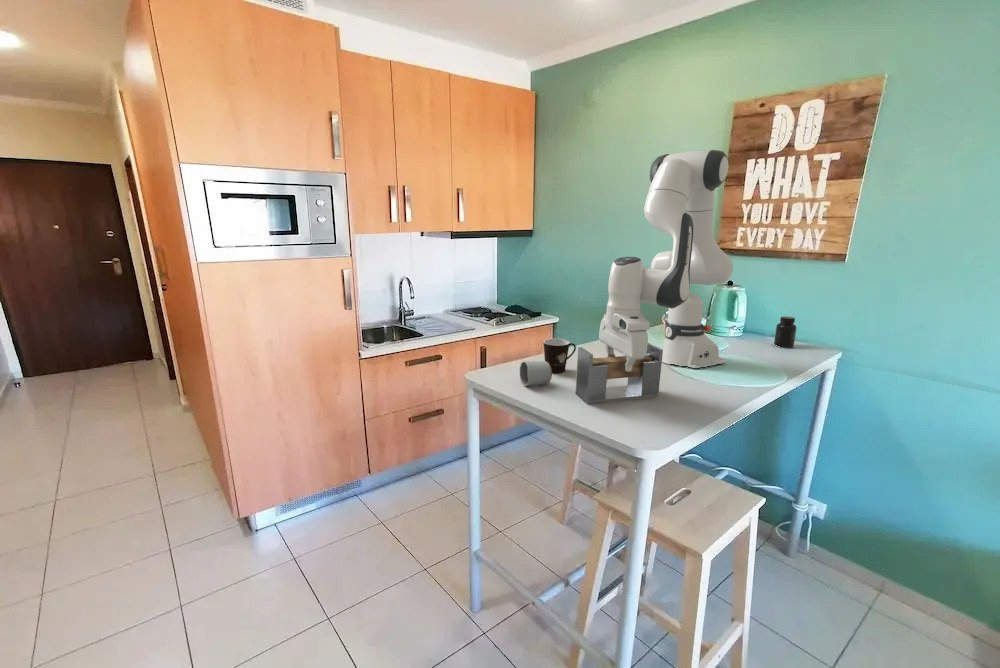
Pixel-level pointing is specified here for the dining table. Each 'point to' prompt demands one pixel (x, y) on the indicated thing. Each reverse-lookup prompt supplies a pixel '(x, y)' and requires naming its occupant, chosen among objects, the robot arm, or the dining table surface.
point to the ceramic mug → (535, 373)
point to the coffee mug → (557, 354)
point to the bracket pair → (595, 389)
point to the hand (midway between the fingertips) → (619, 365)
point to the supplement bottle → (785, 332)
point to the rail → (620, 366)
